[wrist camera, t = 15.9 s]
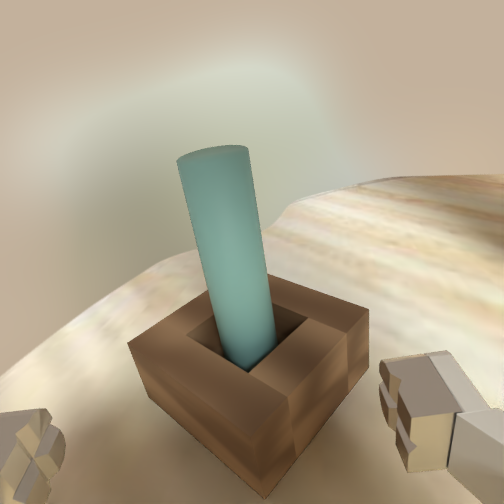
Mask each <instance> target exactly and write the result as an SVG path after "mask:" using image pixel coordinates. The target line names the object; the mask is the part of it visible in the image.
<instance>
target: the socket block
mask: <svg viewBox="0 0 504 504" xmlns="http://www.w3.org/2000/svg"><path fill="white" fill-rule="evenodd" d="M267 276H268V283H269V289H270V296H271V302H272V309H273V315H274V322H275V329H276V335H277V342H278V346H277V347H276V348H275V349H274V350H273V351H272V352H271V353H270V354H269V355H268V356H266V357H265V358H264V359H263V360H262V361H261V362H260V363H259V364H258V365H257V366H256V367H255V368H253V369H252V370H251V371H250V372H249V373H247V372H246V371H244V370H242V369H241V368H239V367H237V366H236V365H234V364H232V363H231V362H229V361H227V360H226V359H225V357H224V353H223V349H222V344H221V340H220V336H219V332H218V328H217V324H216V320H215V316H214V312H213V308H212V304H211V300H210V296H209V292H208V290H207V291H205V292H204V293H202V294H201V295H199V296H198V297H196V298H195V299H193V300H192V301H190V302H189V303H187V304H186V305H184V306H182V307H181V308H179V309H178V310H176V311H175V312H173V313H172V314H170V315H169V316H167V317H166V318H164V319H163V320H161V321H160V322H158V323H157V324H155V325H154V326H152V327H151V328H149V329H148V330H146V331H145V332H143V333H142V334H140V335H139V336H137V337H136V338H134V339H133V340H131V341H130V342H128V343H127V344H128V346H129V349H130V351H131V354H132V357H133V359H134V362H135V364H136V367H137V369H138V372H139V374H140V377H141V379H142V382H143V384H144V387H145V389H146V392H147V394H148V397H149V398H150V399H151V400H153V401H154V402H155V403H156V404H157V405H158V406H159V407H161V408H162V409H163V410H164V411H165V412H166V413H167V414H168V415H170V416H171V417H172V418H173V419H174V420H175V421H176V422H178V423H179V424H180V425H181V426H182V427H183V428H184V429H186V430H187V431H188V432H189V433H190V434H191V435H192V436H193V437H195V438H196V439H197V440H198V441H199V442H200V443H201V444H203V445H204V446H205V447H206V448H207V449H208V450H209V451H210V452H212V453H213V454H214V455H215V456H216V457H217V458H218V459H220V460H221V461H222V462H223V463H224V464H225V465H226V466H227V467H229V468H230V469H231V470H232V471H233V472H234V473H235V474H237V475H238V476H239V477H240V478H241V479H242V480H243V481H245V482H246V483H247V484H248V485H249V486H250V487H251V488H252V489H254V490H255V491H256V492H257V493H258V494H259V495H260V496H262V497H263V498H264V499H266V498H267V496H268V495H269V494H270V493H271V491H272V490H273V489H274V487H275V486H276V485H277V484H278V482H279V481H280V480H281V479H282V477H283V476H284V475H285V473H286V472H287V471H288V470H289V468H290V467H291V466H292V464H293V463H294V462H295V461H296V459H297V458H298V457H299V456H300V454H301V453H302V452H303V450H304V449H305V448H306V447H307V445H308V444H309V443H310V442H311V440H312V439H313V438H314V436H315V435H316V434H317V433H318V431H319V430H320V429H321V428H322V426H323V425H324V424H325V422H326V421H327V420H328V419H329V417H330V416H331V415H332V414H333V412H334V411H335V410H336V408H337V407H338V406H339V405H340V403H341V402H342V401H343V400H344V398H345V397H346V396H347V394H348V393H349V392H350V391H351V389H352V388H353V387H354V385H355V384H356V383H357V382H358V380H359V379H360V378H361V377H362V375H363V374H364V373H365V371H366V370H367V369H368V368H369V309H367V308H364V307H361V306H358V305H355V304H353V303H350V302H347V301H344V300H341V299H338V298H335V297H333V296H330V295H327V294H324V293H321V292H318V291H315V290H313V289H310V288H307V287H304V286H301V285H298V284H295V283H293V282H290V281H287V280H284V279H281V278H278V277H275V276H273V275H270V274H267Z"/></svg>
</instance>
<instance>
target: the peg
mask: <svg viewBox="0 0 504 504" xmlns="http://www.w3.org/2000/svg"><path fill="white" fill-rule="evenodd" d="M177 166H178V170H179V174H180V178H181V182H182V186H183V190H184V193H185V198H186V202H187V206H188V210H189V214H190V218H191V223H192V226H193V231H194V234H195V239H196V243H197V247H198V251H199V255H200V259H201V263H202V267H203V271H204V275H205V279H206V283H207V288H208V292H209V296H210V300H211V304H212V308H213V312H214V316H215V320H216V324H217V328H218V332H219V336H220V340H221V344H222V349H223V353H224V357H225V359H226V360H227V361H229V362H231V363H232V364H234V365H236V366H237V367H239V368H241V369H242V370H244V371H246V372H247V373H249V372H250V371H251V370H252V369H253V368H255V367H256V366H257V365H258V364H259V363H260V362H261V361H262V360H263V359H264V358H265V357H266V356H268V355H269V354H270V353H271V352H272V351H273V350H274V349H275V348H276V347H277V346H278V342H277V335H276V329H275V322H274V315H273V309H272V302H271V296H270V289H269V283H268V276H267V269H266V263H265V256H264V250H263V243H262V237H261V230H260V223H259V217H258V210H257V204H256V197H255V191H254V184H253V177H252V171H251V164H250V158H249V151H248V148H247V147H245V146H241V145H225V146H217V147H211V148H206V149H201V150H198V151H194V152H192V153H188V154H186V155H184V156H182V157H180V158H179V159H178V160H177Z"/></svg>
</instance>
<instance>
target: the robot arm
mask: <svg viewBox="0 0 504 504" xmlns="http://www.w3.org/2000/svg"><path fill="white" fill-rule="evenodd" d="M379 372H380V375H381V377H382V379H383V381H382V383H381V384H380V385H379V396H380V401H381V407H382V410H383V414H384V417H385V419H386V422H387V424H388V426H389V427H390V428H391V429H393V430H394V431H395V432H396V447H397V449H398V451H399V454H400V456H401V459H402V461H403V463H404V466H405V468H406V471H407V473H413V472H423V471H433V470H443V469H448V470H447V471H448V472H449V473H450V474H451V475H452V476H453V477H454V478H455V479H456V480H458V481H459V482H460V483H461V484H462V485H463V486H464V487H465V488H466V489H468V490H469V491H470V492H471V493H472V494H473V495H474V496H475V497H476V498H478V499H479V500H480V501H481V502H482V503H483V504H504V411H502V410H500V409H499V408H494V409H491V408H490V407H489V406H488V404H487V403H486V402H485V400H484V399H483V397H482V396H481V395H480V393H479V392H478V390H477V389H476V388H475V386H474V385H473V384H472V382H471V381H470V379H469V378H468V377H467V375H466V374H465V372H464V371H463V370H462V368H461V367H460V366H459V364H458V363H457V361H456V360H455V359H454V357H453V356H452V354H451V353H449V352H448V351H446V350H445V351H439V352H432V353H425V354H417V355H411V356H404V357H397V358H391V359H384V360H381V361H380V365H379ZM51 420H52V416H51V415H50V413H49V412H48V410H47V409H31V410H23V411H14V412H5V413H0V504H45V503H46V500H47V498H48V496H49V493H50V491H51V487H50V483H49V480H50V479H51V478H52V477H53V476H54V475H55V474H56V473H57V472H58V471H59V470H60V467H61V465H62V462H63V460H64V455H65V447H66V444H65V439H64V435H63V434H62V432H61V430H60V429H58V428H56V427H55V426H53V425H51V424H50V423H51Z"/></svg>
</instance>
